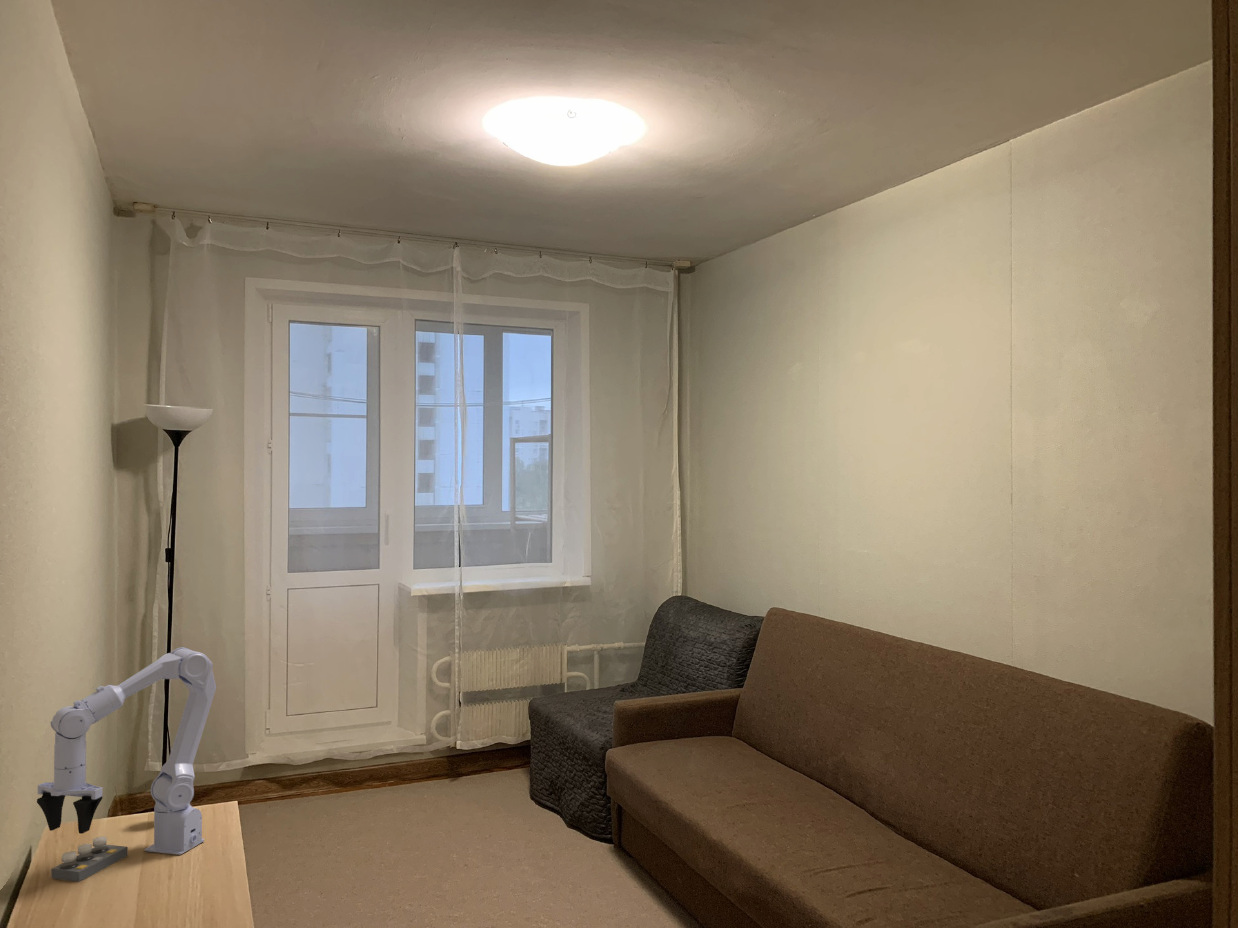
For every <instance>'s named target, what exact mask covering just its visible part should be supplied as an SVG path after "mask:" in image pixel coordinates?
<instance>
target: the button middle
mask: <svg viewBox="0 0 1238 928" xmlns="http://www.w3.org/2000/svg"><path fill="white" fill-rule="evenodd" d="M92 848H93V843H92V844H91V843H83V844H81V845H79V846H78V847H77V854H78V855H80V854H87V853H90V852H91V851H92Z"/></svg>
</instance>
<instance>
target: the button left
mask: <svg viewBox="0 0 1238 928" xmlns="http://www.w3.org/2000/svg"><path fill="white" fill-rule="evenodd" d="M77 854H78V851H67V852H64V853H63V854H62V855H61V862H62V863H64V862H71V861H74V860H76V859H77V856H78V855H77Z"/></svg>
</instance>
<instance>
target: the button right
mask: <svg viewBox="0 0 1238 928" xmlns="http://www.w3.org/2000/svg"><path fill="white" fill-rule="evenodd" d="M107 842H108V841H107V836H98V837H95V838H93V839H92V848H94V847H100V846H103V845H105V844H106V845H107Z"/></svg>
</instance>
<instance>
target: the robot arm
mask: <svg viewBox="0 0 1238 928" xmlns="http://www.w3.org/2000/svg"><path fill="white" fill-rule="evenodd" d="M213 666H214V663H213V662H212V661H211V659H209V657H208V656H207V655H206V654H205V653H203V652H200V651H195V650H191V649H190V648H188V647H182V646H181V647H177V648H175V649H174V650H172V651H171V652H168V653H166V654H163V655H162V656H160V657H159V658H158V659H157V660H155V661H154V662H152V663H151V664H148V665H147V666H145V667H144V668H143V669H141V670H140V671H137V673H134V674H133V675H132V676H131V677H128V678H127V679H126V680H124V681H123V682H121V683H119V684H118V685H113V684H106V685H105V686H104V685H100V686H97V687H96V688H95V690H96V691H95V692H92V693H91V694H90V695H88V696H86V697H85V698H82V699H80V700H78V699H77V700H75V701H73V703H72V704H73V706H72V705H67V706H63V707H61V708H59V709H58V711H55V714H54V715H53V717H52V720H51V721H50V726H51V729H52V730H53V731H54V732H55V733H54V748H53V749H54V750H53V752H54V755H53V760H54V761H53V767H54V768H53V782H46V781H45V782H43V783H40V784H37V795H40V796H41V797H38V798H37V799H36V804H38V806H39V807H40V809H41V810H42V813H43V814H44V816H45V819H46V822H47V823H46V824H47V825H48V830H49V831H54V830H57V829H59V828H61V825H62V817H63V806H64V803H65V798H66V796H67V797H77V798H81V799H78V800H77V799H76V800H75V801H73V802H72V804H73V806H74V809H75V811H76V816H77V817H76V818H77V830H78V833H79V834H84V833H86V832H89V831H90V829H91V826H92V822H93V818H94V816H95V813H96V810H97V809H98V807H99V805H100V803H101V801H102V800H103V794H104V793H103V791H104V790H103V787H102V786H97V785H94V784H92V783H88V782H87V740H86V739H87V732H89V730H90V727H91V726H92V725H94V724H96V723H97V722H99V721H101V720H103V719H104V718H106V717H108V716H109V715H111V714H112V713H114V712H116V711H117V710H119V709H121V708H122V707H123V706H124V703H125V700H126V699H127V698H129V697H131V696H133V695H134V694H136V693H138V692H140V691H142V690H144V689H146V688H147V687H149V686H151V685H153V684H155V683H156V682H159V681H161V680H179V679H180V680H181V681H182V683H183V684H184V685H185V687H186V688H187V690H188V691H189V693H188V697H187V698H186V702H185V705H184V708H183V711H182V715H181V718H180V721H179V725H178V728H177V732H176V735H175V739H174V741H173V744H172V746H171V750H170V754H169V757H168V760H167V761H166V762H165V763H164V764H163V765H162V766H161V768H160V770H159V773H158V775H157V776H156V777H155V778H154V780H153V781H152V783H151V786H150V794H152V795H151V797H152V796H153V797H154V798H155V799H156V802H155V804H154V811H153V814H154V815H153V816H154V817H153V819H154V820H153V822H154V823H153V825H154V826H153V844H150V845H149V846H148V847H146V848H144V851H145V852H148V853H149V852H150V853H159V854H169V855H170V854H171V855H182V854H184V853H186V852H187V851H189V850H191V849H193V848H194V847H196V846H198V845H200V844H202V843H203V842H204V841H205V839H204V838H203V835H202V834H203V831H202V830H203V829H202V828H203V825H202V824H203V815H202V811H201V810H200V809H198V808H195V807H194V806H192V805H191V802H192V800H193V799H194V796H195V789H194V782H195V777H196V776H195V770H194V762H195V759H196V755H197V752H198V749H199V745H200V742H201V740H202V736H203V733H204V729H205V726H206V723H207V720H208V716H209V713H210V710H211V706H212V704H213V701H214V696H215V694H216V690H217V684H216V681H215V680H216V678H215V676H214V675H215V674H214V671H213ZM153 797H152V798H153Z"/></svg>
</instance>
